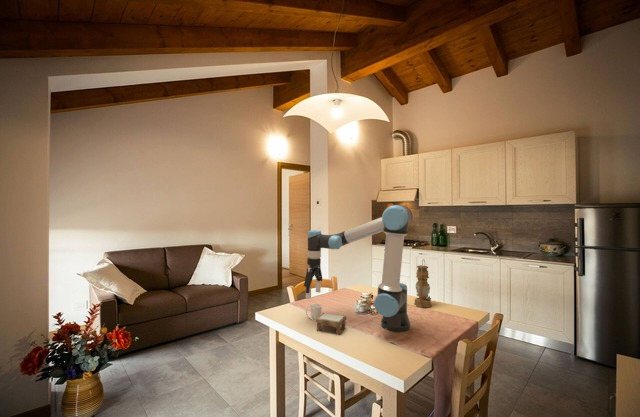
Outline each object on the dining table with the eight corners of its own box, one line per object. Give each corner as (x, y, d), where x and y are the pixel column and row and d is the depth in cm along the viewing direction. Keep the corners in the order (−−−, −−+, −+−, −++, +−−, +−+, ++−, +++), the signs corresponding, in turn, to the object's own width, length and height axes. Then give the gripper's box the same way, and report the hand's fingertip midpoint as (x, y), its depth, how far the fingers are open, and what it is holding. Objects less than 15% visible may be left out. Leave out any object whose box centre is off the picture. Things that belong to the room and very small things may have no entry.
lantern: (432, 310, 187) (432, 261, 187) (414, 308, 190) (415, 260, 190) (430, 302, 202) (430, 257, 202) (413, 301, 205) (414, 257, 205)
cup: (319, 323, 165) (319, 308, 165) (302, 320, 169) (302, 305, 169) (324, 318, 171) (324, 304, 171) (308, 316, 176) (308, 302, 176)
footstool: (346, 327, 159) (346, 316, 159) (340, 335, 149) (340, 323, 149) (323, 324, 164) (323, 312, 164) (315, 330, 154) (316, 319, 154)
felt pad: (343, 316, 158) (343, 316, 158) (338, 322, 151) (338, 321, 151) (324, 313, 162) (324, 313, 162) (318, 318, 155) (318, 318, 155)
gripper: (316, 254, 183) (316, 288, 183) (298, 260, 160) (297, 300, 160) (328, 255, 180) (327, 290, 180) (310, 262, 157) (310, 302, 157)
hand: (313, 295), depth 170 cm, fingers open, 13 cm apart
